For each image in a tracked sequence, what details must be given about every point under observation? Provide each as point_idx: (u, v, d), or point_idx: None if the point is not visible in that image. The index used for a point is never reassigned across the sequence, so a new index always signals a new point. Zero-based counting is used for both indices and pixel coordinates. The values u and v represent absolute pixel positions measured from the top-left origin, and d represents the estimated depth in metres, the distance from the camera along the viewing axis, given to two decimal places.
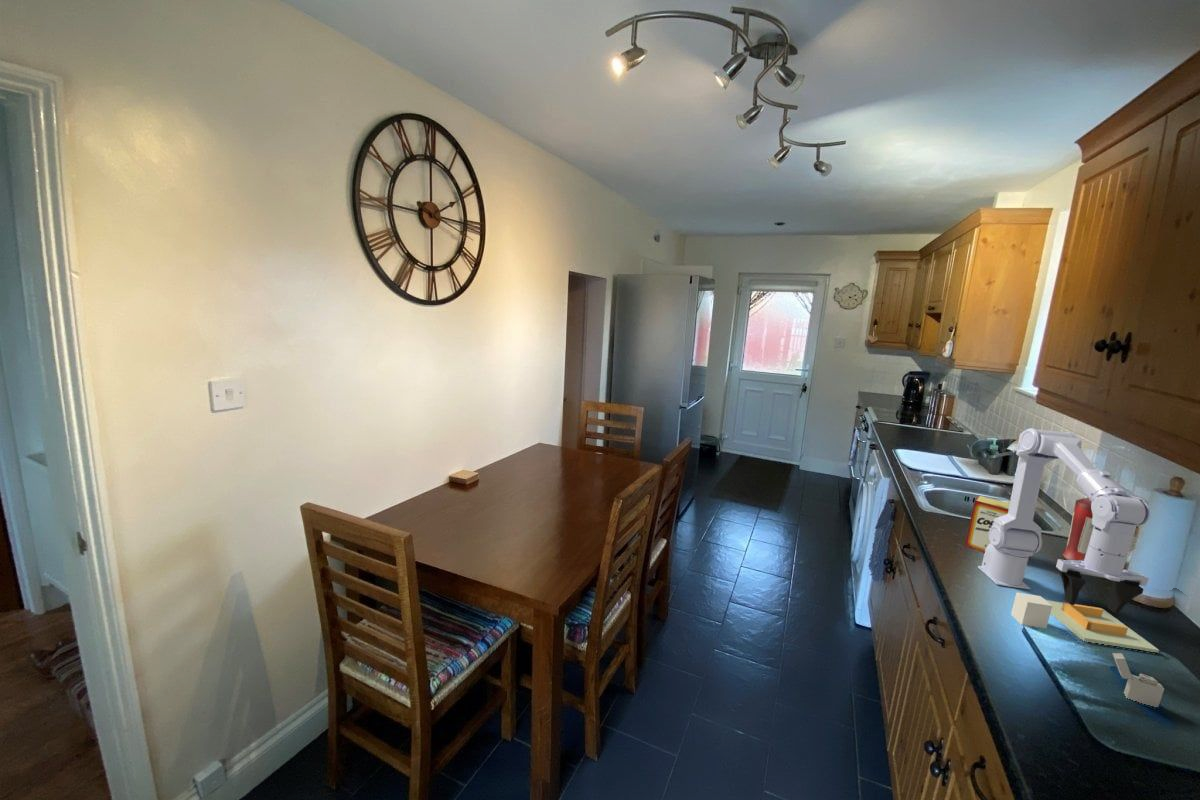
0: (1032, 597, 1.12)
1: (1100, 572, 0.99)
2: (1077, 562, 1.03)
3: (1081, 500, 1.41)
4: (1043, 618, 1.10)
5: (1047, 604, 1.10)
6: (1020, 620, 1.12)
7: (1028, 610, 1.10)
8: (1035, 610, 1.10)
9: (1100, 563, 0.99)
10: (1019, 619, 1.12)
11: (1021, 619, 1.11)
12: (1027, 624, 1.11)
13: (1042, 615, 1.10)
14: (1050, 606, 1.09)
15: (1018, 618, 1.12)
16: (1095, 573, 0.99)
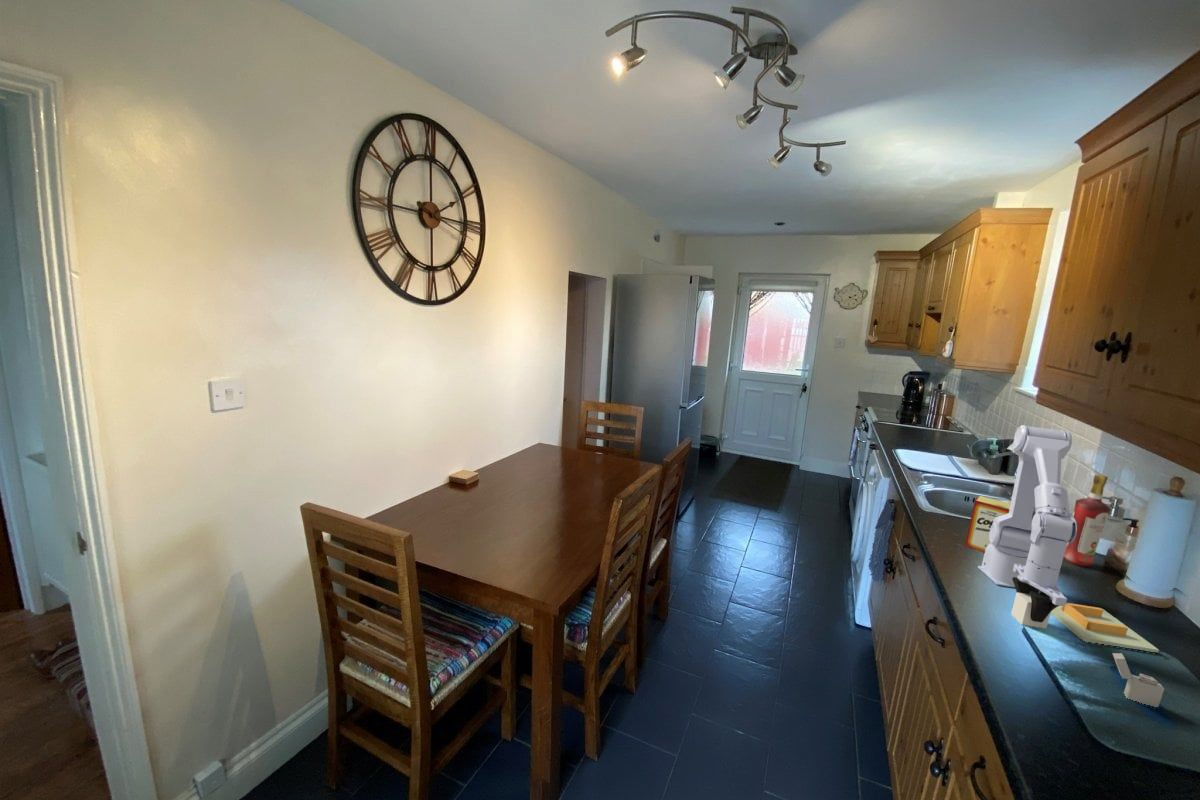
0: None
1: (1023, 575, 1.12)
2: None
3: (1081, 500, 1.41)
4: None
5: None
6: (1020, 619, 1.12)
7: (1028, 610, 1.10)
8: None
9: (1025, 567, 1.12)
10: (1019, 619, 1.12)
11: (1022, 618, 1.11)
12: (1027, 624, 1.11)
13: None
14: None
15: (1018, 618, 1.12)
16: (1020, 574, 1.13)
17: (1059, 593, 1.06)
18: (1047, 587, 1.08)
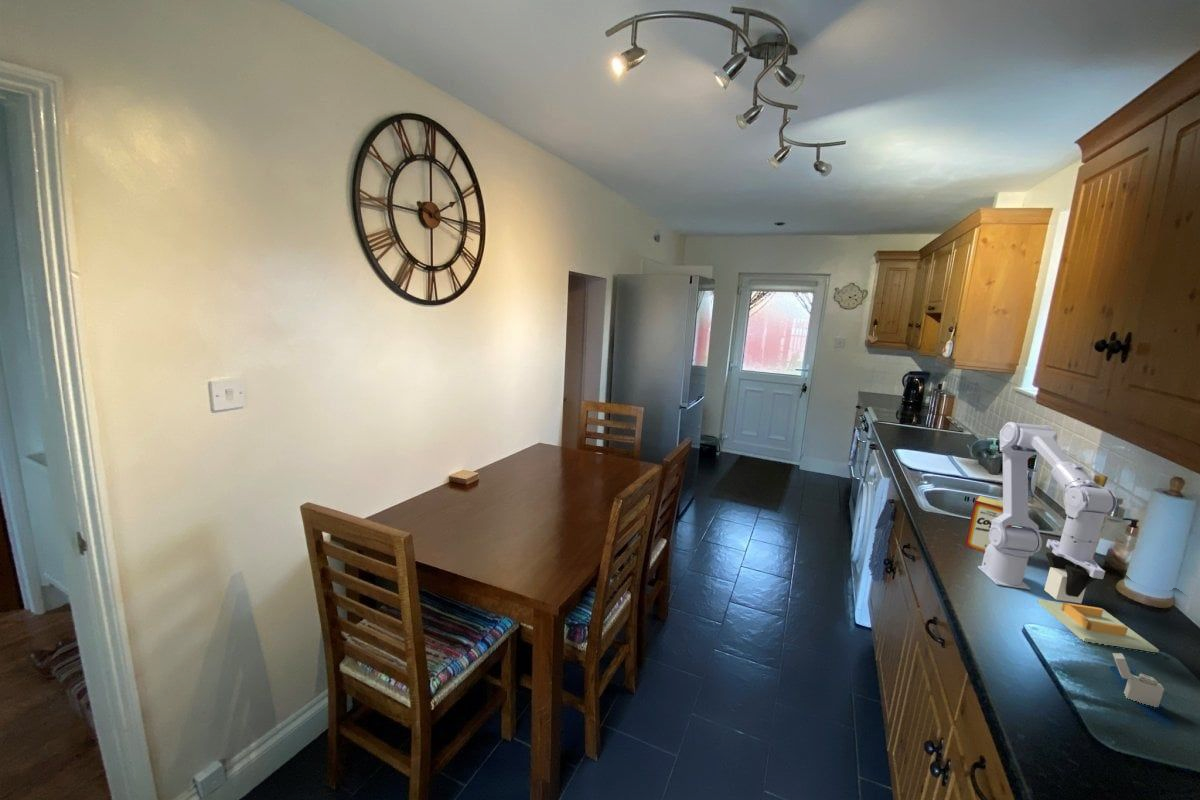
0: None
1: (1057, 549, 1.11)
2: None
3: None
4: None
5: None
6: (1054, 594, 1.10)
7: (1063, 584, 1.09)
8: None
9: (1060, 541, 1.11)
10: (1053, 594, 1.11)
11: (1056, 593, 1.10)
12: (1062, 599, 1.09)
13: None
14: None
15: (1052, 593, 1.11)
16: (1055, 549, 1.12)
17: (1096, 566, 1.04)
18: (1083, 560, 1.06)
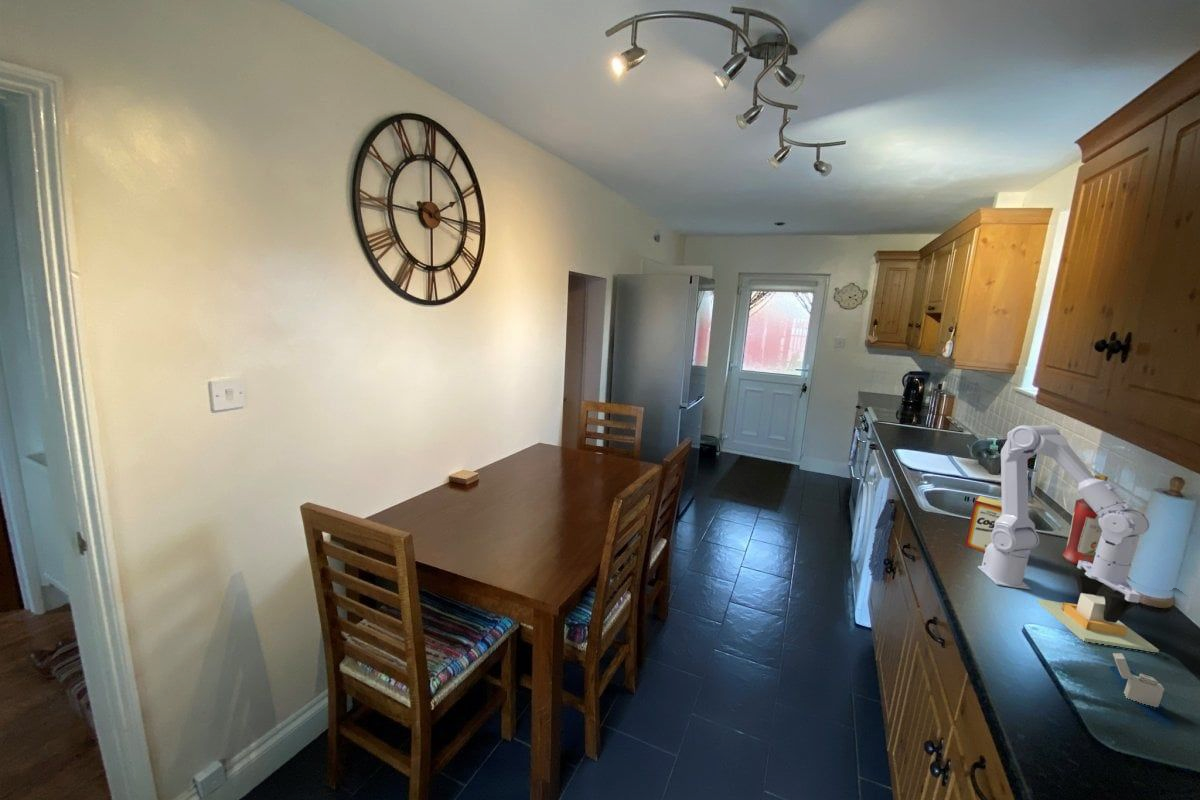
0: (1097, 598, 1.12)
1: (1090, 571, 1.12)
2: None
3: (1081, 500, 1.41)
4: None
5: None
6: None
7: (1095, 611, 1.10)
8: (1101, 611, 1.09)
9: None
10: None
11: None
12: None
13: None
14: None
15: None
16: (1087, 571, 1.12)
17: (1131, 589, 1.05)
18: (1118, 583, 1.07)
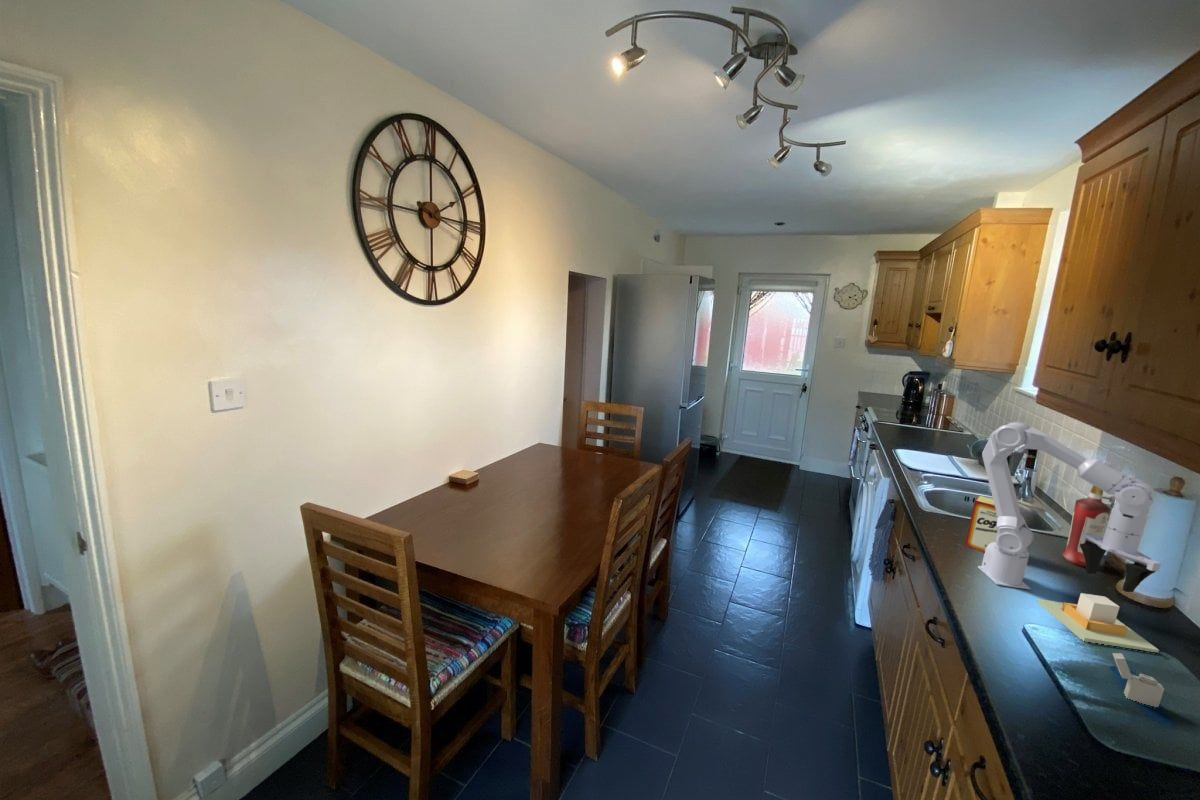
0: (1097, 598, 1.12)
1: (1102, 544, 1.14)
2: None
3: (1081, 500, 1.41)
4: (1110, 618, 1.09)
5: (1114, 605, 1.09)
6: None
7: (1095, 611, 1.10)
8: (1101, 611, 1.09)
9: (1104, 536, 1.14)
10: None
11: None
12: None
13: (1108, 616, 1.09)
14: (1117, 607, 1.09)
15: None
16: (1099, 544, 1.15)
17: (1148, 558, 1.08)
18: (1134, 554, 1.10)
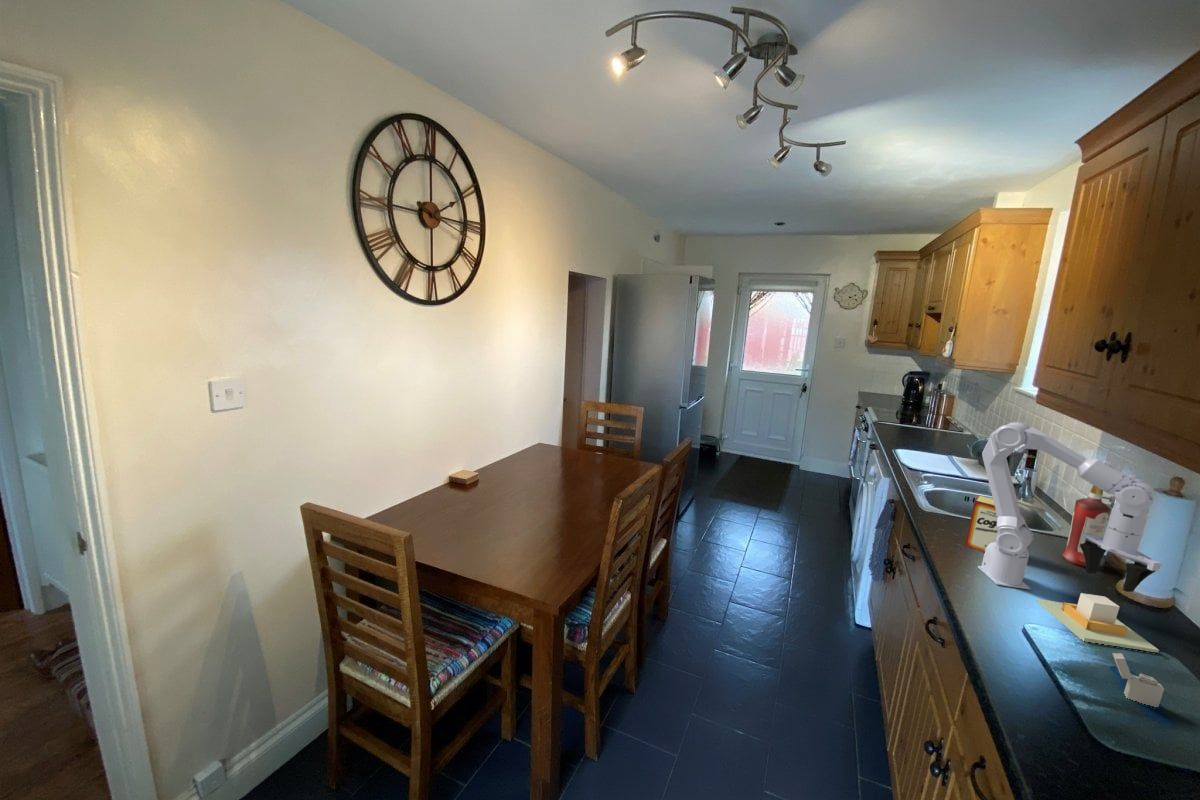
0: (1097, 598, 1.12)
1: (1103, 544, 1.14)
2: None
3: (1081, 500, 1.41)
4: (1110, 618, 1.09)
5: (1114, 605, 1.09)
6: None
7: (1095, 611, 1.10)
8: (1101, 611, 1.09)
9: (1104, 536, 1.14)
10: None
11: None
12: None
13: (1108, 616, 1.09)
14: (1117, 607, 1.09)
15: None
16: (1099, 543, 1.15)
17: (1148, 558, 1.08)
18: (1134, 553, 1.10)
